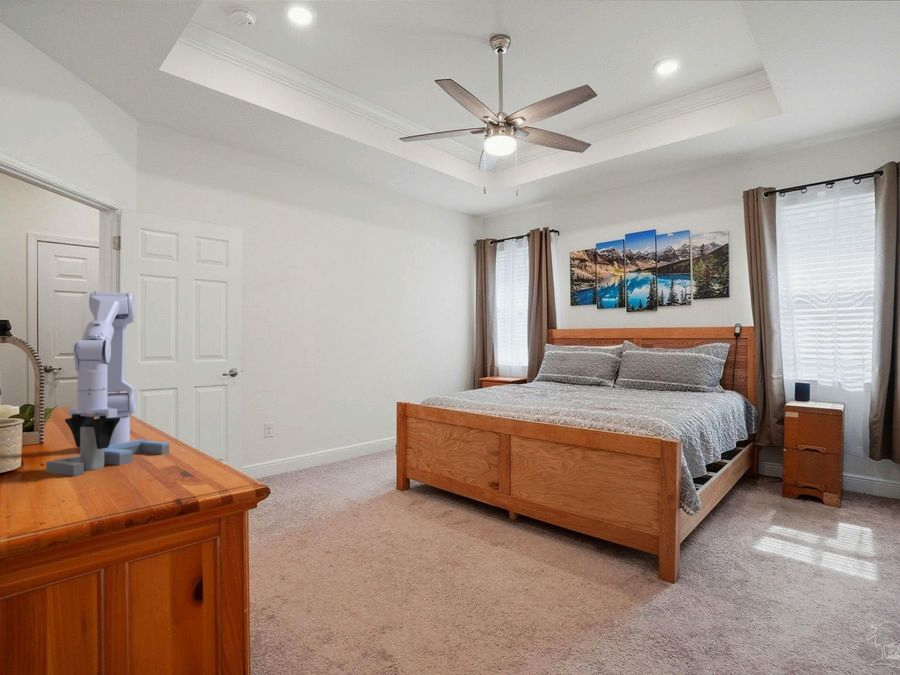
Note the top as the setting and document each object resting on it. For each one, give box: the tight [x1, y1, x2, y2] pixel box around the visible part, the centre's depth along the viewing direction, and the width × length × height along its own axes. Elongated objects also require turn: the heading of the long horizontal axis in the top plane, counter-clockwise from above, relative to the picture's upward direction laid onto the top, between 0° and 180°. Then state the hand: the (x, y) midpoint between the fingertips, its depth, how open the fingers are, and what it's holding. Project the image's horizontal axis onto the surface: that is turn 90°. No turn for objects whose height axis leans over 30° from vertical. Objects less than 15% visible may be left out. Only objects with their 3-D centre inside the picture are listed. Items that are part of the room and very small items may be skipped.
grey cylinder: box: [79, 424, 105, 472], centre depth 111 cm, size 4×4×10 cm
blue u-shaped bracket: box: [104, 438, 170, 455], centre depth 122 cm, size 10×13×1 cm
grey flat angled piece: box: [45, 444, 170, 477], centre depth 117 cm, size 10×23×2 cm, turn 158°
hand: (92, 447), depth 111 cm, fingers open, 7 cm apart
